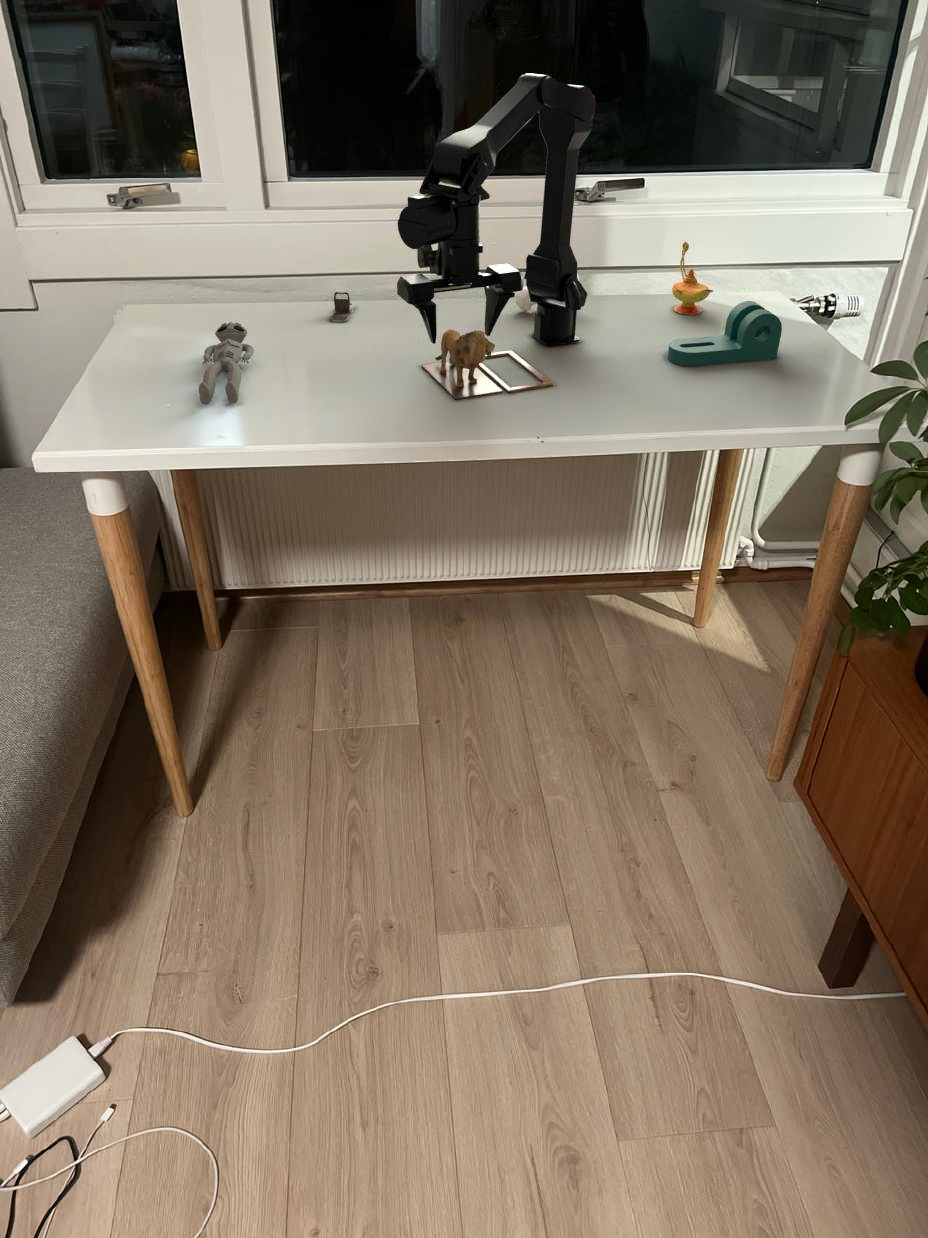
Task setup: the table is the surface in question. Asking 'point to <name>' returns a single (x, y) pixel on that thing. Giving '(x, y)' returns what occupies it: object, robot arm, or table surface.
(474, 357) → the lion figurine
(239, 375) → the alien figure
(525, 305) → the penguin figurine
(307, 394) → the table surface
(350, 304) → the strap clip
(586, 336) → the table surface
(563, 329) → the robot arm
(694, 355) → the bracket
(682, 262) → the magic lamp
